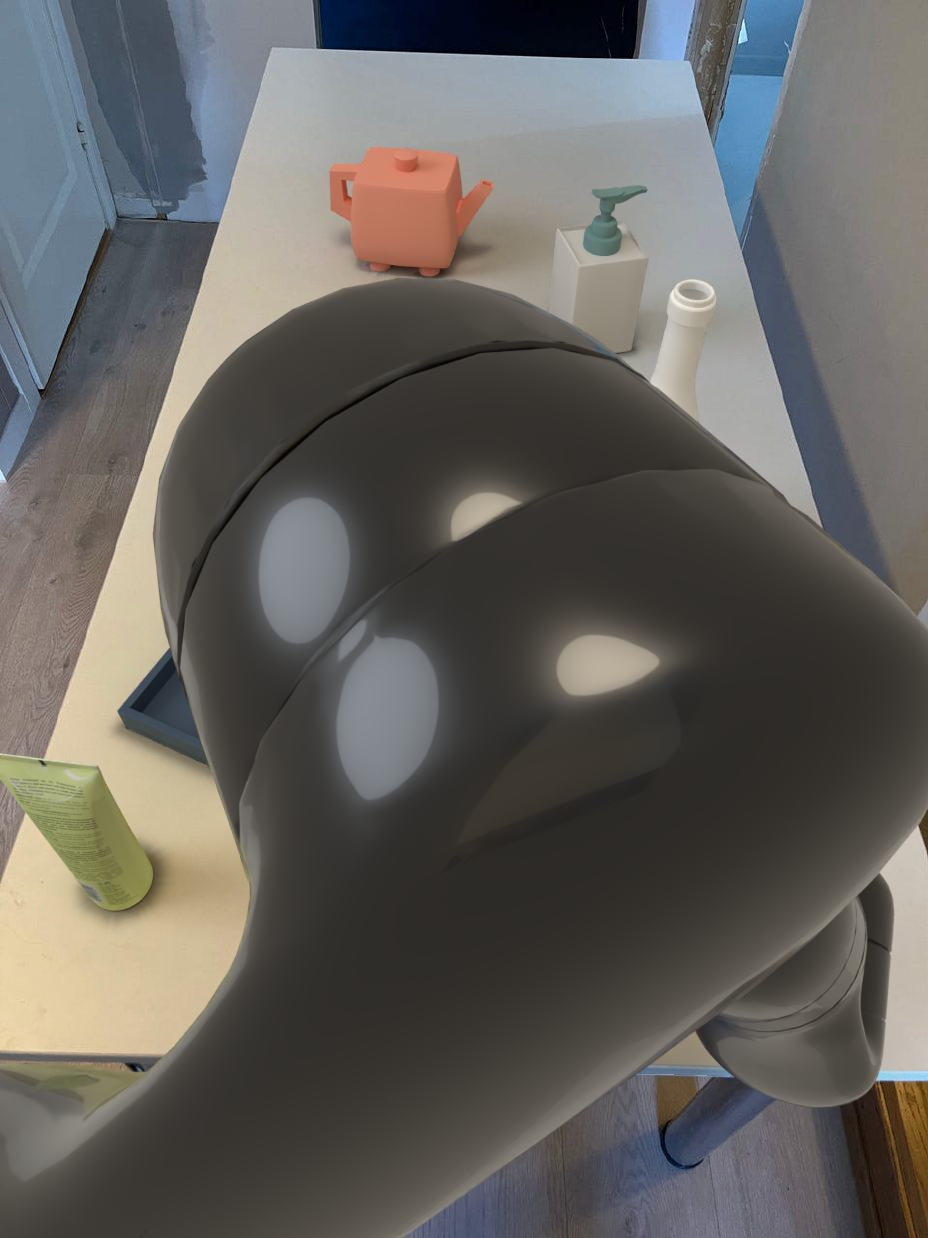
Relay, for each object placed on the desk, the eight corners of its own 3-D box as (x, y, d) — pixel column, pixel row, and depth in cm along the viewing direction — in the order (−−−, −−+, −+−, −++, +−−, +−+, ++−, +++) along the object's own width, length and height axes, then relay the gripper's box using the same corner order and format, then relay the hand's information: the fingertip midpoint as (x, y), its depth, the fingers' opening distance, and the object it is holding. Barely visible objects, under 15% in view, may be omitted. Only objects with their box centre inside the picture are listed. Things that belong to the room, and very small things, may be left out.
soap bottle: (633, 351, 115) (661, 204, 100) (567, 360, 114) (585, 213, 98) (610, 312, 120) (633, 167, 105) (546, 321, 119) (561, 175, 104)
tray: (236, 778, 77) (229, 762, 75) (125, 728, 80) (116, 711, 78) (423, 509, 97) (422, 490, 95) (329, 476, 100) (326, 457, 98)
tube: (147, 836, 74) (68, 707, 59) (172, 885, 72) (97, 765, 56) (79, 874, 72) (-21, 751, 57) (103, 926, 69) (5, 812, 54)
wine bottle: (688, 583, 91) (772, 324, 68) (595, 587, 91) (646, 327, 67) (668, 515, 97) (739, 255, 74) (581, 519, 97) (623, 258, 73)
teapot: (496, 238, 131) (500, 137, 120) (484, 287, 123) (487, 184, 112) (347, 224, 133) (337, 123, 122) (326, 271, 125) (314, 168, 114)
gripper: (554, 781, 54) (399, 783, 66) (429, 998, 46) (281, 954, 59) (623, 860, 56) (461, 848, 69) (514, 1078, 49) (355, 1020, 61)
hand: (378, 897), depth 64 cm, fingers open, 8 cm apart
